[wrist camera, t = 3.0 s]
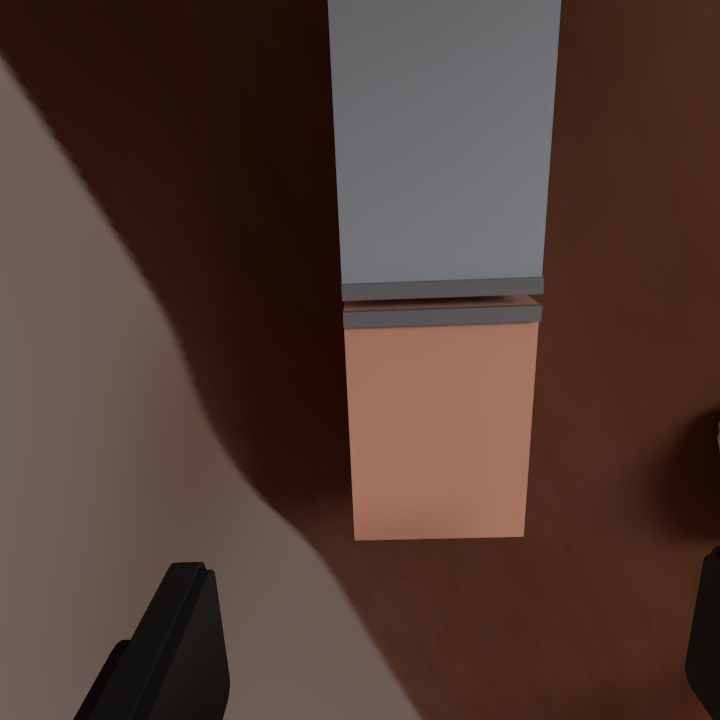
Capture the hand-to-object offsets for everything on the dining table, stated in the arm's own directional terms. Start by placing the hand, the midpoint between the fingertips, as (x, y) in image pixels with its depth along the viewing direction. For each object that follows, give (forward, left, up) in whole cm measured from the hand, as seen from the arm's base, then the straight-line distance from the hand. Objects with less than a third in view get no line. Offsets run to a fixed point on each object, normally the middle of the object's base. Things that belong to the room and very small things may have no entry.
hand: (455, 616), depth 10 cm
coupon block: (0, -11, -11) cm, 16 cm away
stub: (0, -1, -11) cm, 11 cm away
